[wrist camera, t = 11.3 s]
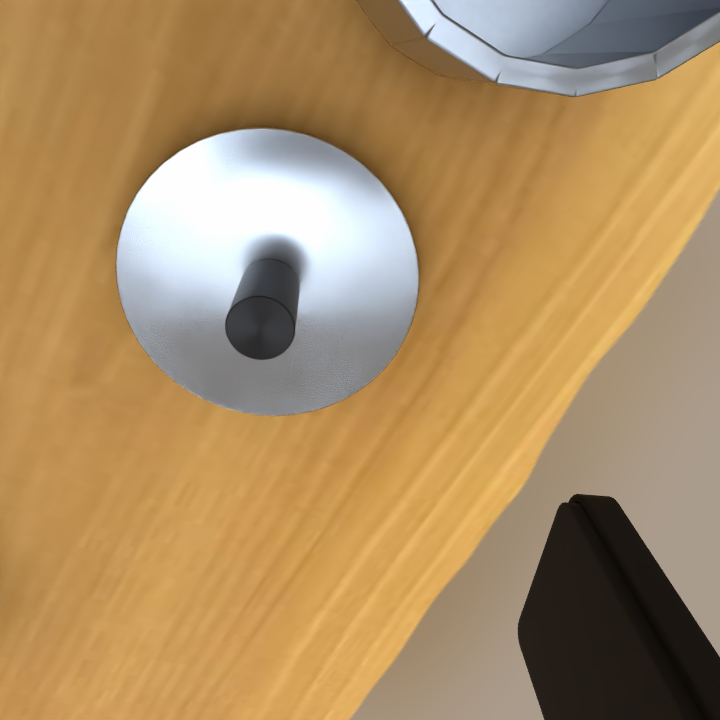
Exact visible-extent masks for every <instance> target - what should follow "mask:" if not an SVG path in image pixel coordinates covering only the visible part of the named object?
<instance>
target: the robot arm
mask: <svg viewBox="0 0 720 720" xmlns="http://www.w3.org/2000/svg"><path fill="white" fill-rule="evenodd" d="M518 639H519V644H520V648H521V651H522V653H523V657H524V660H525V663H526V666H527V669H528V672H529V675H530V678H531V681H532V684H533V687H534V690H535V693H536V696H537V699H538V701H539V705H540V708H541V711H542V714H543V717H544V720H720V657H719V655H718V654H717V652H716V651H715V649H714V648H713V647H712V645H711V643H710V642H709V640H708V639H707V637H706V636H705V634H704V633H703V631H702V630H701V628H700V627H699V625H698V624H697V622H696V621H695V619H694V617H693V616H692V614H691V613H690V611H689V610H688V608H687V607H686V605H685V604H684V602H683V601H682V599H681V598H680V596H679V595H678V593H677V592H676V590H675V589H674V587H673V586H672V584H671V583H670V581H669V580H668V578H667V577H666V575H665V574H664V572H663V570H662V569H661V568H660V566H659V564H658V563H657V561H656V560H655V558H654V557H653V555H652V554H651V552H650V551H649V549H648V548H647V546H646V545H645V543H644V542H643V540H642V539H641V537H640V536H639V534H638V533H637V531H636V530H635V528H634V526H633V525H632V524H631V522H630V520H629V519H628V518H627V516H626V514H625V513H624V511H623V510H622V508H621V507H620V505H619V504H618V502H617V501H616V500H615V499H614V498H612V497H609V496H596V495H582V494H576V495H574V496H573V497H571V499H570V500H569V502H568V503H566V502H565V503H562V504H561V505H560V506H559V508H558V510H557V513H556V516H555V519H554V522H553V524H552V528H551V530H550V533H549V536H548V539H547V542H546V545H545V548H544V550H543V553H542V556H541V559H540V562H539V565H538V568H537V570H536V573H535V576H534V579H533V582H532V585H531V588H530V591H529V593H528V596H527V599H526V602H525V605H524V608H523V611H522V613H521V616H520V619H519V623H518Z"/></svg>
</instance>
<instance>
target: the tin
mask: <svg viewBox="0 0 720 720" xmlns="http://www.w3.org/2000/svg"><path fill="white" fill-rule="evenodd" d="M356 1H357V2H358V3H359V4H360V6H361V8H362V9H363V11H364V12H365V14H366V15H367V16H368V18H369V19H370V20H371V22H372V23H373V25H374V26H375V27H376V28H377V30H378V31H379V32H380V33H381V34H382V35H383V36H384V37H385V39H386V40H387V41H388V43H389V44H392V47H394V48H395V49H397V50H399V51H400V52H402V53H403V54H404V55H406V56H407V57H408V58H410V59H412V60H413V61H415V62H417V63H418V64H420V65H422V66H424V67H425V68H427V69H429V70H430V71H432V72H434V73H435V74H437V75H439V76H443V77H449V78H455V79H461V80H467V81H473V82H478V83H484V84H490V85H497V86H503V87H510V88H516V89H523V90H529V91H536V92H542V93H549V94H555V95H562V96H569V97H579V96H584V95H589V94H593V93H598V92H602V91H607V90H612V89H616V88H621V87H625V86H630V85H635V84H639V83H644V82H648V81H653V80H656V79H658V78H660V77H662V76H664V75H665V74H667V73H669V72H670V71H672V70H674V69H675V68H677V67H679V66H680V65H682V64H684V63H685V62H687V61H689V60H690V59H692V58H693V57H695V56H697V55H698V54H700V53H702V52H703V51H705V50H707V49H708V48H710V47H712V46H713V45H715V44H717V43H718V42H720V0H356Z"/></svg>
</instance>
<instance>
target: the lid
mask: <svg viewBox="0 0 720 720" xmlns="http://www.w3.org/2000/svg"><path fill="white" fill-rule="evenodd" d="M116 277H117V287H118V291H119V296H120V300H121V304H122V307H123V310H124V313H125V315H126V318H127V321H128V323H129V325H130V327H131V329H132V331H133V333H134V335H135V336H136V338H137V340H138V342H139V343H140V344H141V346H142V347H143V349H144V350H145V351H146V353H147V354H148V356H149V357H150V358H151V359H152V360H153V361H154V362H155V363H156V364H157V366H158V367H159V368H160V369H161V370H162V371H163V372H165V373H166V374H167V375H168V376H169V377H170V378H171V379H173V380H174V381H175V382H176V383H178V384H179V385H181V386H182V387H184V388H185V389H186V390H188V391H189V392H191V393H193V394H195V395H197V396H199V397H200V398H202V399H204V400H206V401H209V402H211V403H214V404H216V405H219V406H221V407H224V408H228V409H231V410H235V411H238V412H243V413H250V414H256V415H271V416H280V415H294V414H300V413H305V412H311V411H314V410H318V409H321V408H324V407H328V406H330V405H332V404H335V403H337V402H339V401H342V400H344V399H346V398H347V397H349V396H351V395H352V394H354V393H356V392H358V391H359V390H360V389H362V388H363V387H364V386H366V385H367V384H368V383H370V382H371V381H372V380H373V379H374V378H375V377H376V376H377V375H378V374H380V373H381V372H382V371H383V370H384V369H385V368H386V366H387V365H388V364H389V362H390V361H391V360H392V359H393V357H394V356H395V355H396V353H397V352H398V350H399V348H400V347H401V345H402V343H403V342H404V340H405V338H406V335H407V333H408V331H409V328H410V326H411V324H412V321H413V317H414V313H415V310H416V306H417V300H418V292H419V265H418V257H417V250H416V247H415V243H414V240H413V236H412V232H411V230H410V228H409V225H408V223H407V221H406V218H405V216H404V214H403V212H402V210H401V208H400V207H399V205H398V203H397V202H396V200H395V198H394V197H393V195H392V194H391V192H390V191H389V190H388V189H387V187H386V186H385V185H384V184H383V182H382V181H381V180H380V179H379V178H378V177H377V176H376V175H375V174H374V173H373V172H372V171H371V170H370V169H369V168H368V167H367V166H366V165H365V164H364V163H362V162H361V161H359V160H358V159H357V158H355V157H354V156H352V155H351V154H350V153H348V152H347V151H345V150H343V149H341V148H340V147H338V146H336V145H334V144H332V143H330V142H328V141H326V140H323V139H321V138H318V137H315V136H313V135H310V134H307V133H303V132H299V131H294V130H290V129H286V128H274V127H247V128H238V129H233V130H228V131H223V132H219V133H216V134H213V135H211V136H208V137H205V138H202V139H200V140H198V141H196V142H194V143H192V144H190V145H188V146H186V147H184V148H182V149H181V150H179V151H178V152H177V153H175V154H174V155H172V156H171V157H170V158H168V159H167V160H166V161H164V162H163V163H162V164H161V165H160V166H159V167H158V168H157V169H156V170H155V171H154V172H153V173H152V174H151V175H150V176H149V177H148V178H147V179H146V181H145V182H144V183H143V185H142V186H141V187H140V189H139V190H138V191H137V193H136V195H135V197H134V198H133V200H132V202H131V204H130V206H129V208H128V210H127V212H126V215H125V218H124V220H123V223H122V226H121V229H120V234H119V239H118V244H117V251H116Z"/></svg>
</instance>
